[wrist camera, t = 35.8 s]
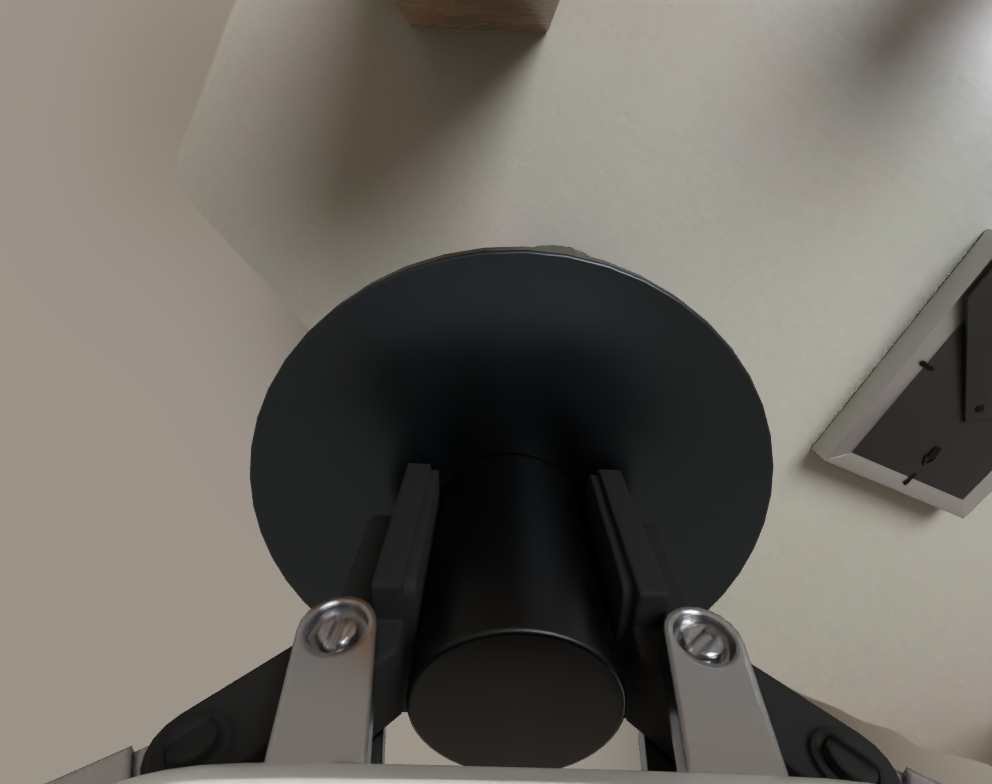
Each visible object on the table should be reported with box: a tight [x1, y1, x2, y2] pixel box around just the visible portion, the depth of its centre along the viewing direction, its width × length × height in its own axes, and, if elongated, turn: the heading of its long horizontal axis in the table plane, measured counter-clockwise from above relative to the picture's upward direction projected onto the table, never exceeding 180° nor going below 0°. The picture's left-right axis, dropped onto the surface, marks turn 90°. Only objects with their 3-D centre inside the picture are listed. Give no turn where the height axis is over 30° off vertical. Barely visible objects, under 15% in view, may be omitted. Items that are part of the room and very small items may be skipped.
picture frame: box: [812, 229, 992, 518], centre depth 41 cm, size 16×3×21 cm
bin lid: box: [250, 247, 773, 768], centre depth 11 cm, size 13×13×6 cm
